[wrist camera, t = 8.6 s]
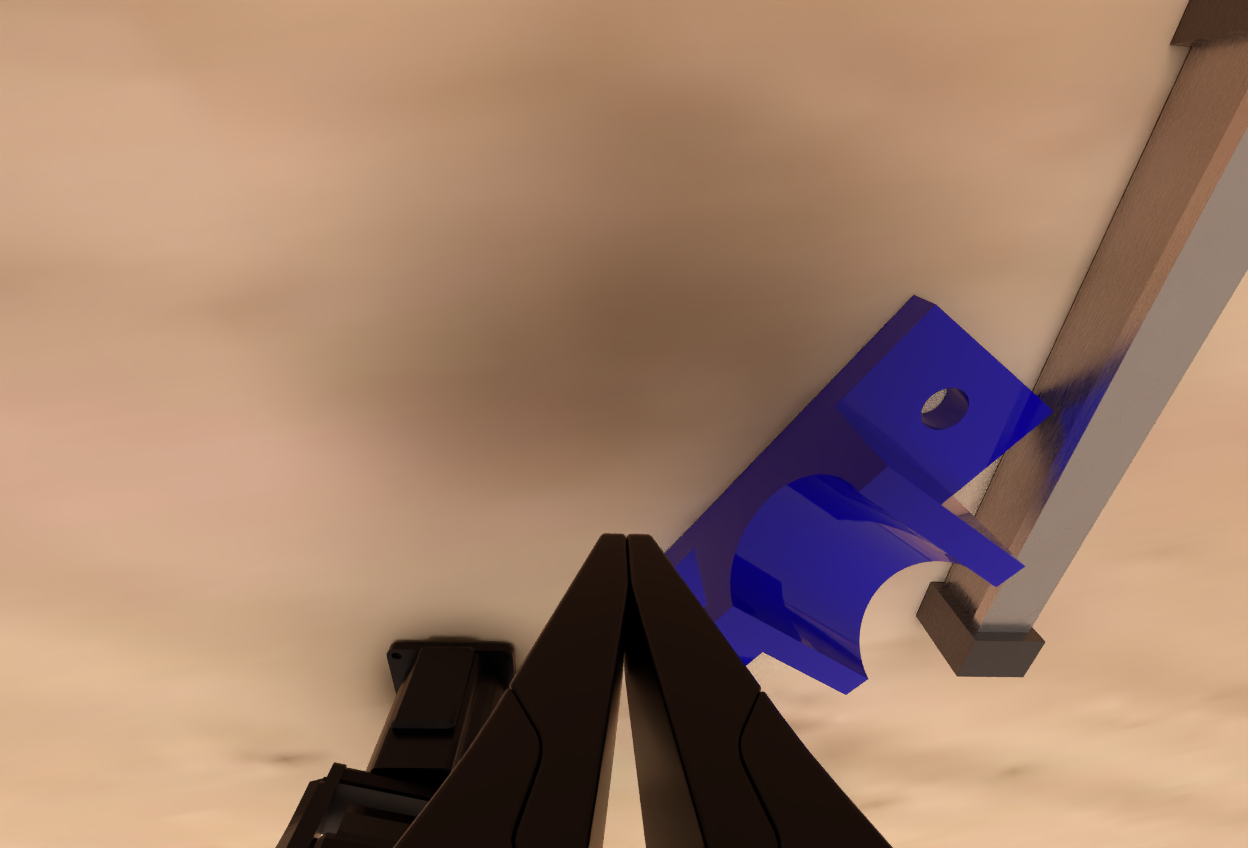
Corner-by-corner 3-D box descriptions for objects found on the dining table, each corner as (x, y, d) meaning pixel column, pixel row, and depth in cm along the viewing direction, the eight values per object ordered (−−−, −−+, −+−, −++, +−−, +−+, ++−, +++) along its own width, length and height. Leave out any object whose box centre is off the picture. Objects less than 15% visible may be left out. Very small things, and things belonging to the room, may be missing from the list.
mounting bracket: (908, 292, 19) (1024, 342, 14) (1020, 392, 21) (1159, 470, 16) (629, 583, 25) (634, 694, 20) (735, 638, 27) (765, 752, 22)
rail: (974, 617, 27) (1023, 677, 23) (916, 616, 26) (956, 676, 23) (1324, -52, 14) (1523, -113, 11) (1217, -61, 14) (1389, -125, 11)
